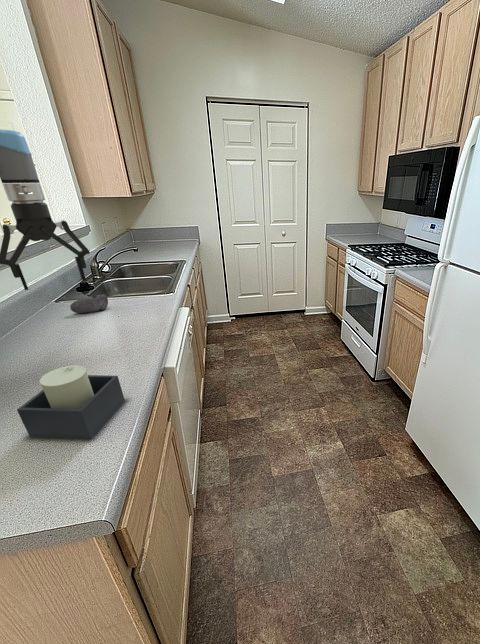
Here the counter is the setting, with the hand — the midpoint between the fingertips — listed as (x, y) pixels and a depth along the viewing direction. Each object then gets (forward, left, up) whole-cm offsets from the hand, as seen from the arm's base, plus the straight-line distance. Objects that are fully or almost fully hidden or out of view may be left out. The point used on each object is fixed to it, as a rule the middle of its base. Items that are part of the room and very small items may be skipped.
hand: (56, 284), depth 93 cm
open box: (+15, -25, -27) cm, 40 cm away
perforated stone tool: (-28, +48, -27) cm, 62 cm away
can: (+15, -25, -26) cm, 39 cm away
